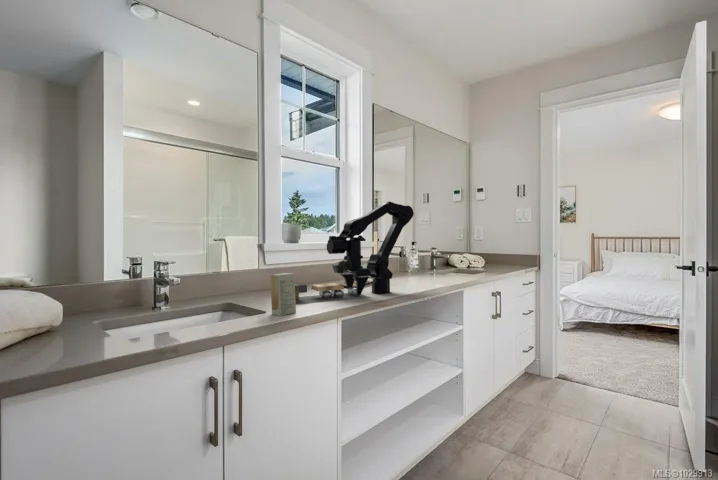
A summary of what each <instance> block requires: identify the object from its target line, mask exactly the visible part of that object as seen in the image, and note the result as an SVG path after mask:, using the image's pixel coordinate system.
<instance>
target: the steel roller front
mask: <svg viewBox="0 0 718 480" xmlns="http://www.w3.org/2000/svg"><path fill="white" fill-rule="evenodd" d="M318 295H320V296H321V297H323V298H326V299H330V298H331V297H332V293H331V290H330V291H318Z"/></svg>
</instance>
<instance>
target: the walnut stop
mask: <svg viewBox="0 0 718 480" xmlns="http://www.w3.org/2000/svg"><path fill="white" fill-rule="evenodd" d="M304 293H308V284H306V283H302V282H300V281H298V282H296V281H295V299H296V303H299V297H300V294H304Z"/></svg>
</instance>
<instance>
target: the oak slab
mask: <svg viewBox="0 0 718 480" xmlns="http://www.w3.org/2000/svg"><path fill="white" fill-rule="evenodd" d="M311 290H314V291H315V292H320V291H330V292H331V290H342V291H343V290H345V285H344V284H341V283H335V282H332V283H320V284H319V283H318V284H311Z"/></svg>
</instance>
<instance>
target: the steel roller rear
mask: <svg viewBox="0 0 718 480" xmlns="http://www.w3.org/2000/svg"><path fill="white" fill-rule="evenodd" d="M330 292H331V293H332V295H333V296H335V297H338V298H342V297H343V296H344V293H345V291H343V289H342V290H330Z"/></svg>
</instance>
